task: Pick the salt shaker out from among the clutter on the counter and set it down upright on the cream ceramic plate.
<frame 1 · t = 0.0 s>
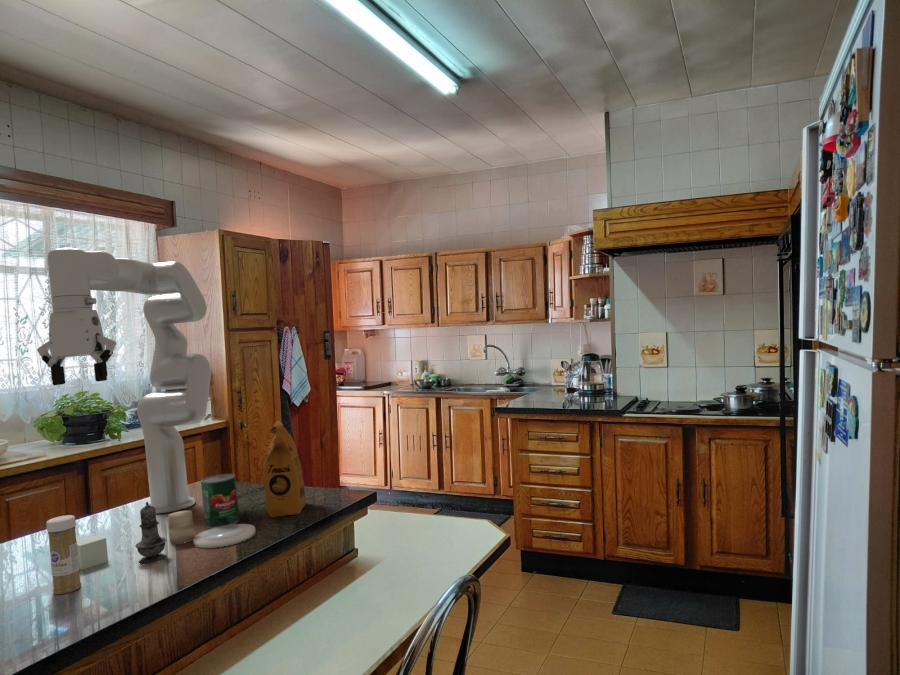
hand: (80, 382, 139), 37 cm above the counter, tool pointing down, fingers open, 9 cm apart
beige rounded cylinder: (182, 540, 142), on the counter
plate: (225, 537, 141), on the counter
sprinkles bottle: (68, 590, 117), on the counter
coffee package: (286, 511, 159), on the counter
salt shaker: (152, 560, 130), on the counter
sage block: (90, 563, 132), on the counter
canned tomato: (222, 523, 153), on the counter
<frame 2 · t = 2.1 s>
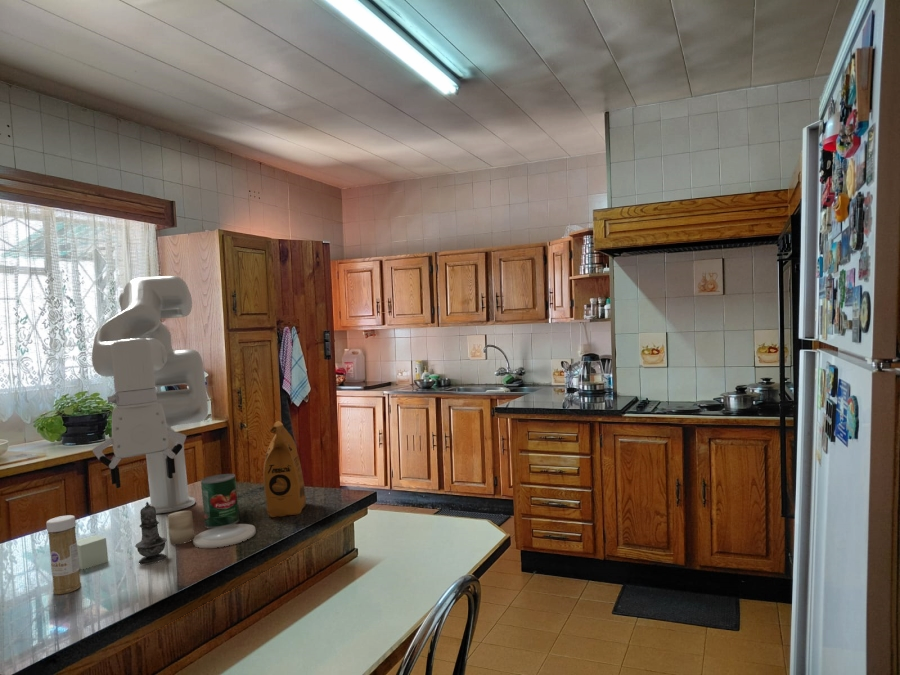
hand: (144, 482, 130), 16 cm above the counter, tool pointing down, fingers open, 9 cm apart
nothing on the counter moved.
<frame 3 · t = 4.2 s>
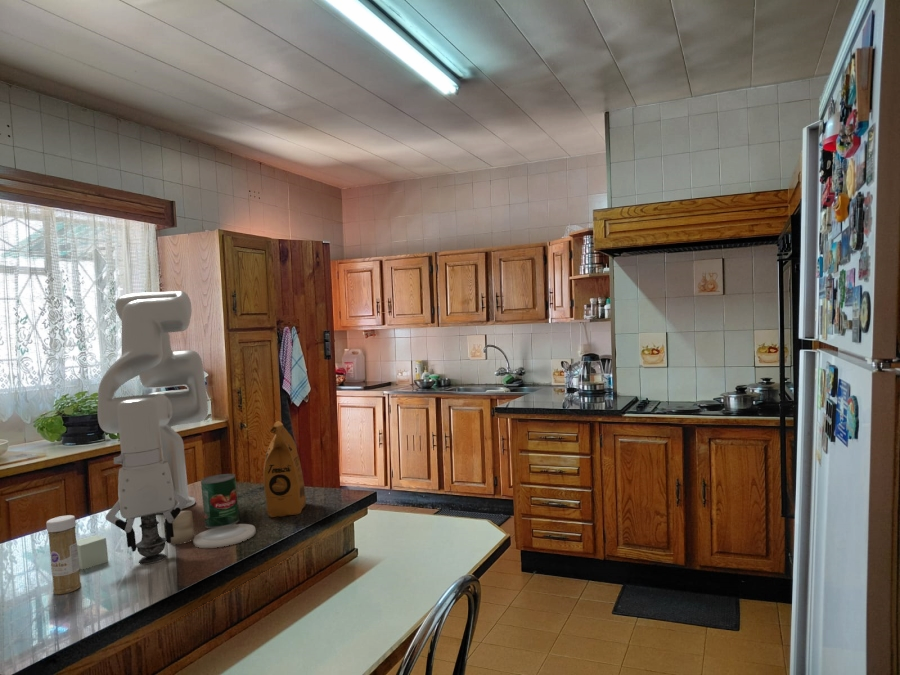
hand: (151, 544, 130), 3 cm above the counter, tool pointing down, fingers closed on salt shaker, 5 cm apart
salt shaker: (152, 560, 130), on the counter, touching gripper
everything else where it was.
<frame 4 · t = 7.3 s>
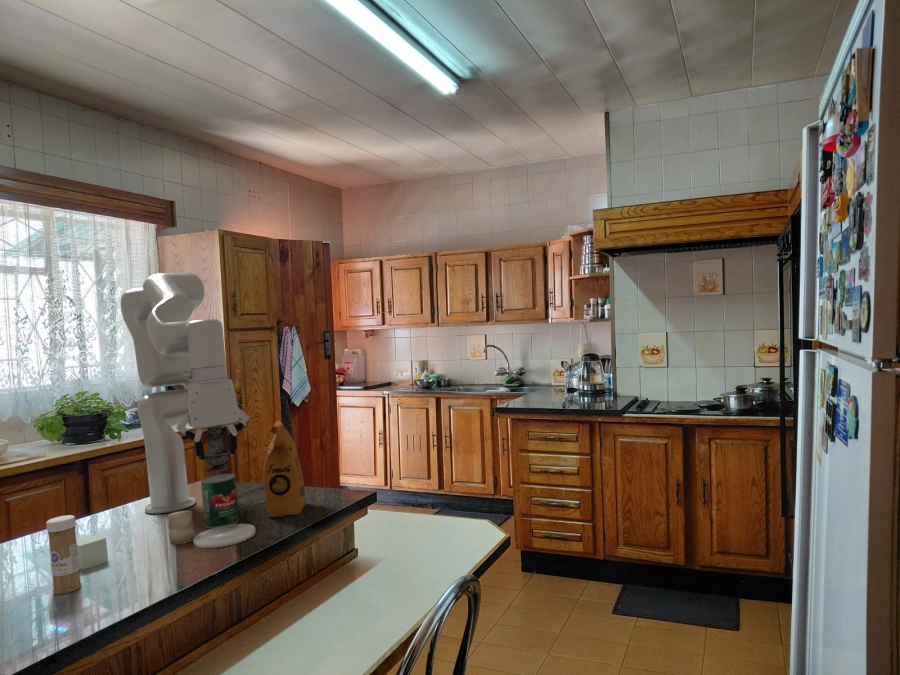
hand: (216, 455, 140), 18 cm above the counter, tool pointing down, fingers closed on salt shaker, 5 cm apart
salt shaker: (218, 470, 140), point 15 cm above the counter, touching gripper
everything else where it was.
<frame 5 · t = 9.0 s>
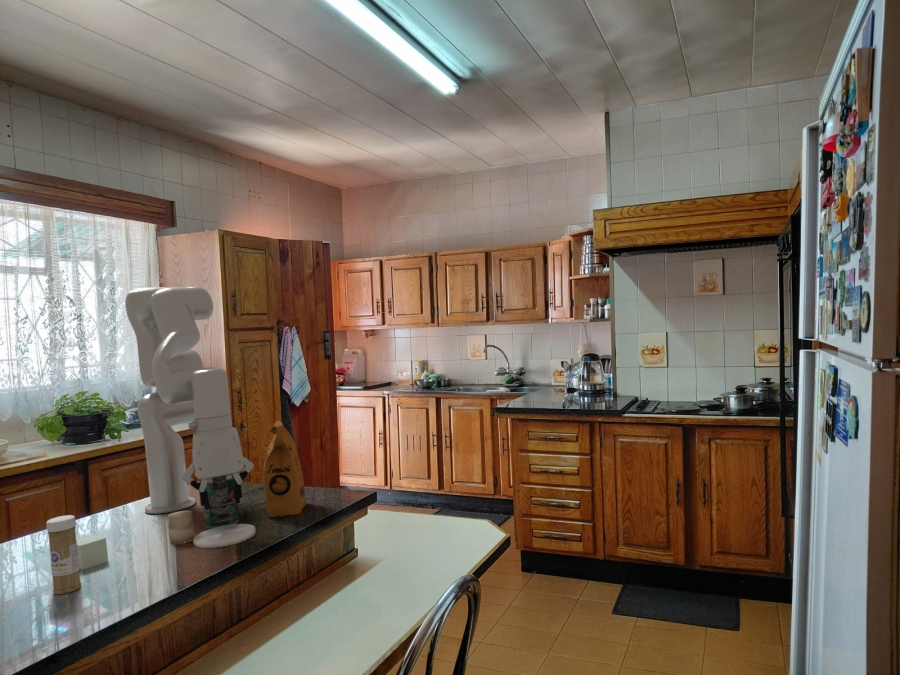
hand: (221, 504, 140), 7 cm above the counter, tool pointing down, fingers closed on salt shaker, 5 cm apart
salt shaker: (223, 519, 140), point 4 cm above the counter, touching gripper
everything else where it was.
when the fingers open (5 cm above the counter, at t = 10.4 s): salt shaker drops 1 cm, resting on plate.
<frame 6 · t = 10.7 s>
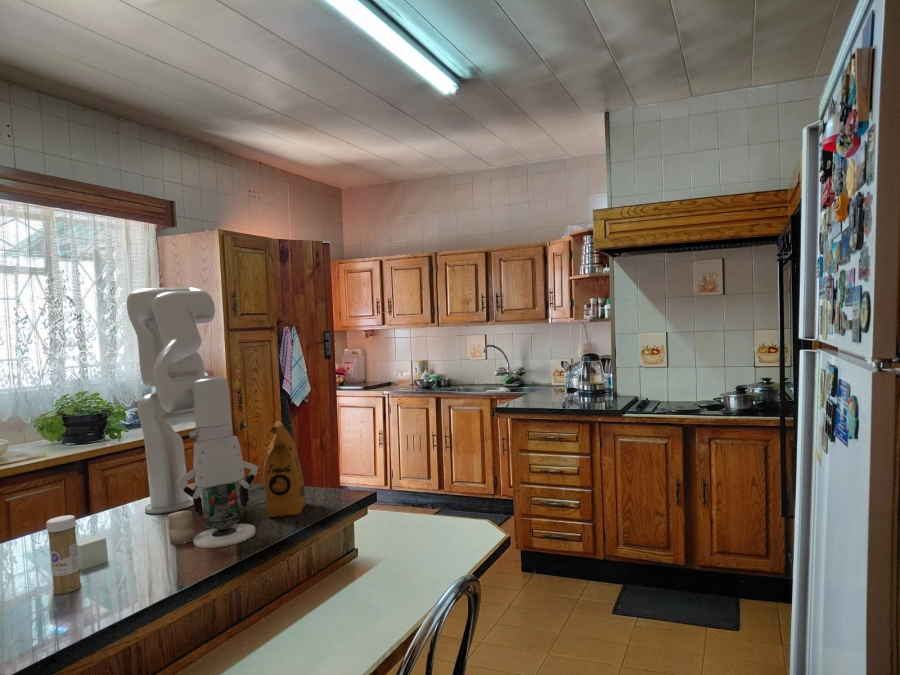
hand: (222, 510, 141), 6 cm above the counter, tool pointing down, fingers open, 9 cm apart
salt shaker: (224, 533, 141), point 1 cm above the counter, touching plate
everything else where it was.
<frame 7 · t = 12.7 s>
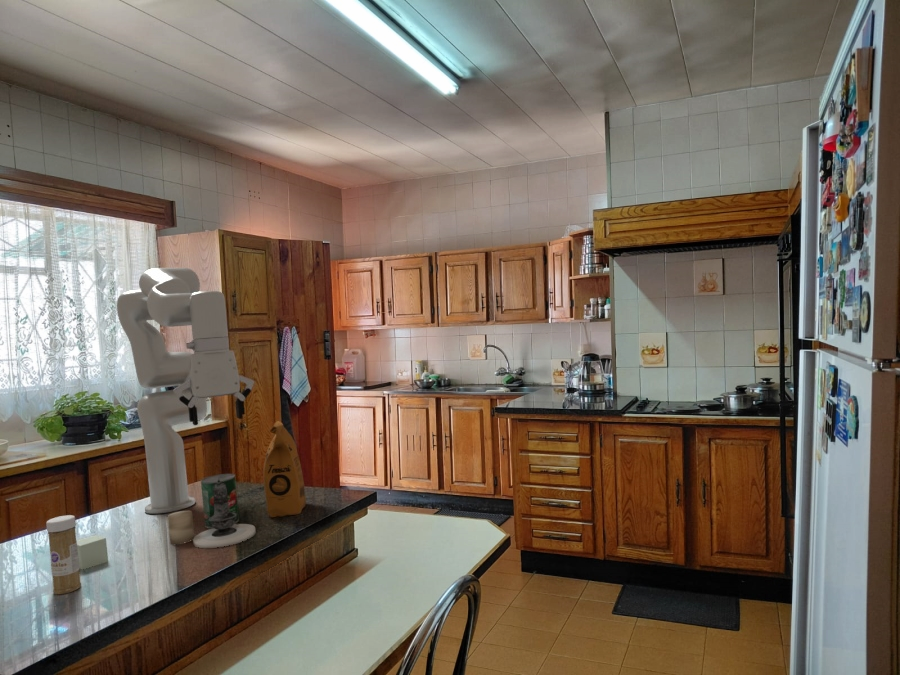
hand: (217, 421, 144), 26 cm above the counter, tool pointing down, fingers open, 9 cm apart
nothing on the counter moved.
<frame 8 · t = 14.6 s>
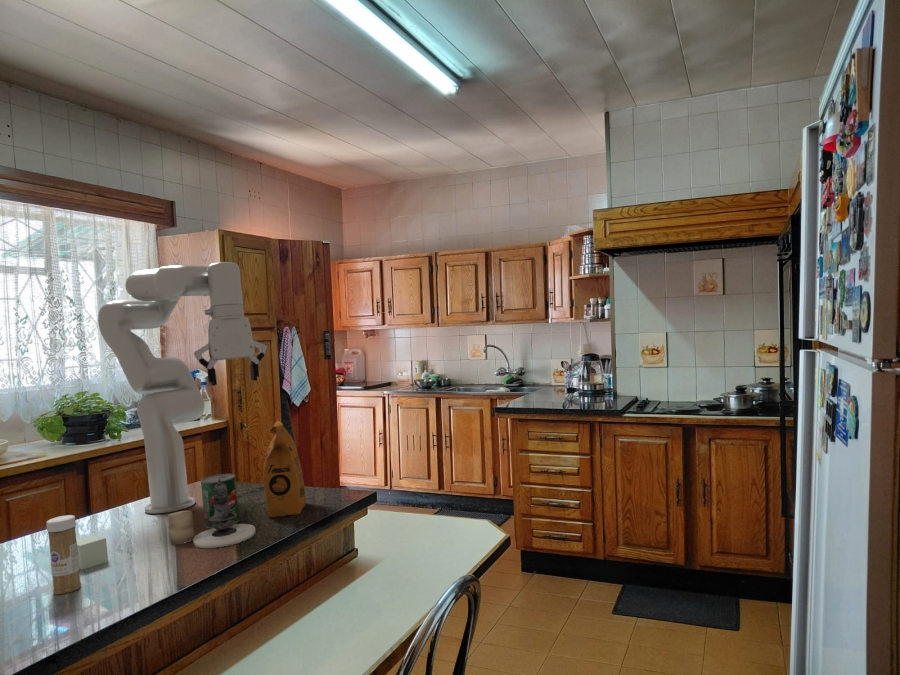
hand: (234, 382, 155), 33 cm above the counter, tool pointing down, fingers open, 9 cm apart
nothing on the counter moved.
at the end: salt shaker 0.1 cm from the plate (horizontally); salt shaker touching plate; salt shaker tilted 1° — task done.
